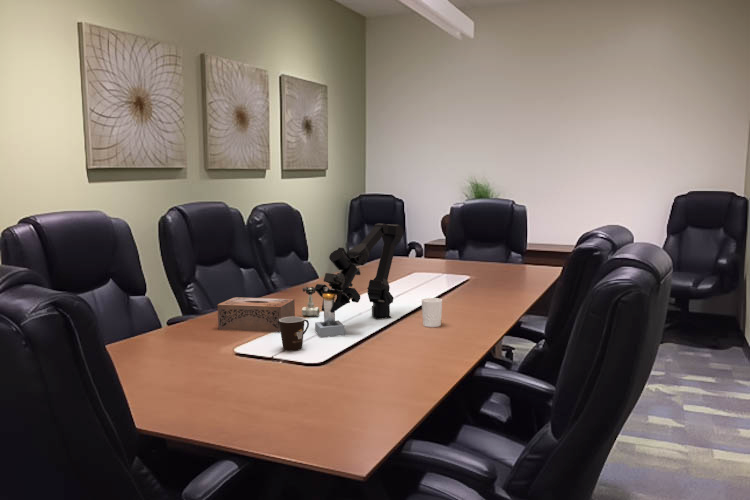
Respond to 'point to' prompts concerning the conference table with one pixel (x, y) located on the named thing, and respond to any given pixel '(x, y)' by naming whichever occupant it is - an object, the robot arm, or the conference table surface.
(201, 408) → the conference table surface
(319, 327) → the grey square hollow block
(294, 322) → the coffee mug
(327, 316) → the gold-capped bottle
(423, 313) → the white cup
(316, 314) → the valve
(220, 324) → the tissue box cover
